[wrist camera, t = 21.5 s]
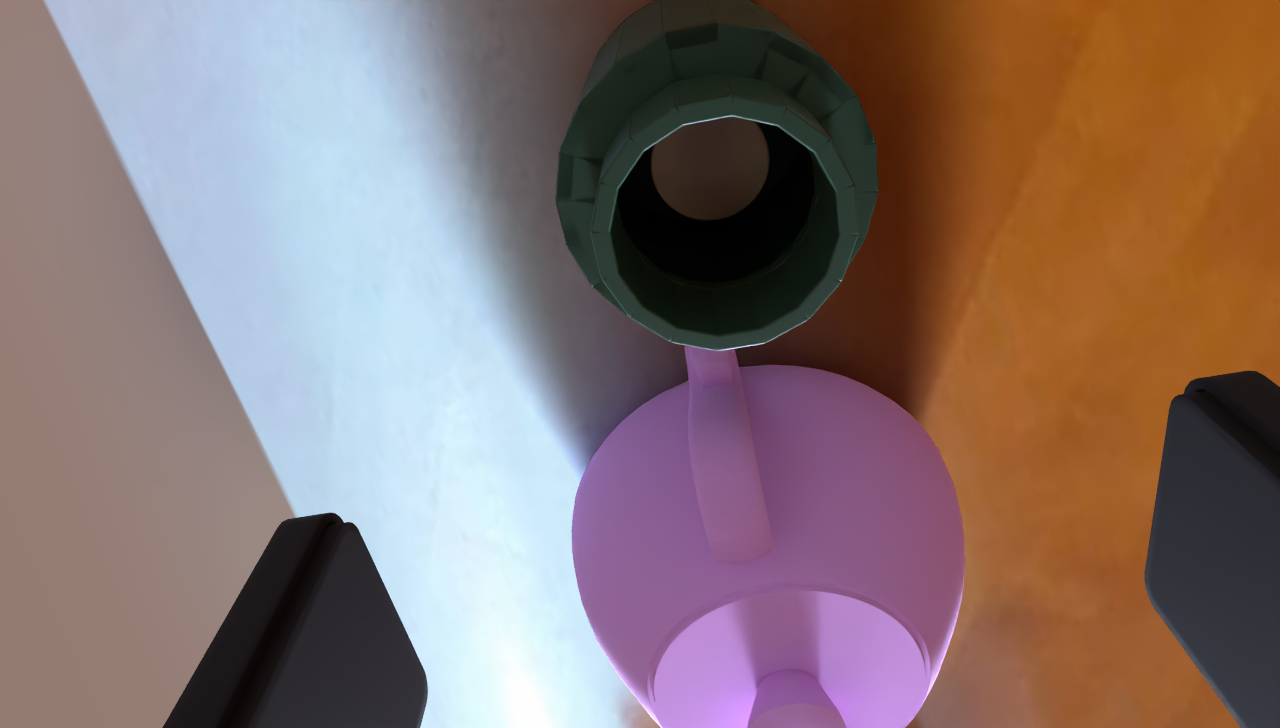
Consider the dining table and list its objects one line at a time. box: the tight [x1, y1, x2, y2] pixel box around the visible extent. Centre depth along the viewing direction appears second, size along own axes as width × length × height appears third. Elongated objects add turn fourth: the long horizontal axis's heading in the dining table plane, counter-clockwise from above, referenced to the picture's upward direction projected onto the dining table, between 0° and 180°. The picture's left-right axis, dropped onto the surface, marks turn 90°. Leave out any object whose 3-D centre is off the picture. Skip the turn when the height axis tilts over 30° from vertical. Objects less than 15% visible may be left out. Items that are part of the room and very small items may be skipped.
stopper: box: [651, 116, 770, 221], centre depth 29 cm, size 4×4×6 cm
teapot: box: [572, 345, 965, 728], centre depth 35 cm, size 25×18×14 cm
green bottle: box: [556, 0, 879, 351], centre depth 26 cm, size 9×9×13 cm
